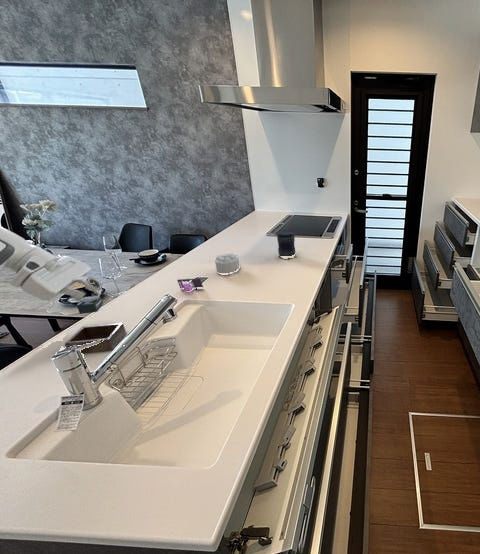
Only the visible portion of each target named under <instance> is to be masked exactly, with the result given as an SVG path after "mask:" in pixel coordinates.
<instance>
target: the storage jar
mask: <svg viewBox="0 0 480 554" xmlns="http://www.w3.org/2000/svg"><path fill="white" fill-rule="evenodd" d="M276 239H277V244H278V247H277V248H278V251H277V252H278V256H279V255H280V256H292V255H294V254H295V255H296V247H295V241H296V240H295V231H294V230H290V229H282V230H278V231H277V232H276Z"/></svg>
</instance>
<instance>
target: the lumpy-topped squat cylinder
mask: <svg viewBox="0 0 480 554" xmlns="http://www.w3.org/2000/svg"><path fill="white" fill-rule="evenodd" d="M214 263H215V269H216V274H217V275H218V276H219V277H222V276H224V278H226V277H231V276H230V275H232V274H233V275H232V276H235V275H237V274H239V272H240V270H241V266H240V258H239V255H238V254H234V253H223V254H221V255H220V254H219V255H217V256H216V257H215V259H214ZM239 266H240V268H239ZM238 268H239V270H238V271H237V272H234V271H236V270H237V269H238ZM217 272H219V273H230V272H234V273H232V274H228V275H221V274H218V273H217ZM225 276H226V277H225Z"/></svg>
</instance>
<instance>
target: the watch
mask: <svg viewBox="0 0 480 554" xmlns="http://www.w3.org/2000/svg"><path fill="white" fill-rule="evenodd" d="M78 280H79V281H81V282H82V283H84V285H85V286H86V287H87V288H88V289H89V290H91V292H94V293H95V294H96V295H91V296H83V297H82V298H78V297H76V296H73V295H69V297H71V298H72V299H74V300H75V301H77V302H78V301H79V302H78V303H77V304H76V308H77V310H78V313H79V314H80V315H82V314H83V315H85V314H90V313H98V311H99V310H100V309H101V307H102V306H103V305H104V302H103V299H102V296H101V294H102V291H103V286H102V283H101V282H100V281H99V280H98V279H96V278H95V277H91V276H85V277H77V278H75V279H74V280H73V281H72V282H74V281H78ZM82 283H81V284H82ZM84 285H83V286H84ZM69 286H71V287H72V285H71V284H70V285H69ZM85 286H84V287H85ZM72 289H74V288H73V287H72ZM88 289H87V290H88ZM89 290H88V291H89Z"/></svg>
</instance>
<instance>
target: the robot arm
mask: <svg viewBox="0 0 480 554" xmlns="http://www.w3.org/2000/svg"><path fill="white" fill-rule="evenodd" d="M5 268H7V269H8V270H10V271H12V272H14V273H15V275H14V276H13V277H12V279H11V280H10V281H9V284H10V285H11V286H13V287H15V288H21V290H22V291H24V292H25V293H26V294H29V295H31V296H33V297H35V298H37V299H39V300H42V301H51V300H53V299H54V298H56V297H57V296H58V295H60V294H61V293H62V294H64V295H67V296H70V295H73V296H76V297H78V298H82V297H83V298H84V297H85V296H86V295H87V292H86V291H84V290H82V289H80V290H78V289H74V288H73V287H72V286H73V285H74V284H76V283H78V284H82V285H83V286H84V289H86V290H88V291H91V290H89V289H88V288H87V287H86V286H85V285H84V283H82V282H81V281H79V280H78V281H74V282H72V281H73V280H74V279H75V278H77V277H87V275H88V274H89V273H90V272H91V271H92V267H91V265H89V264H88V263H85V262H84V261H82V260H79V259H77V258H74V257H72V256H68V255H61V254H57V255H54V254H52V253H51V252H49V251H47V250H45V249H44V248H42V247H40V246H37V245H34V244H32V243H30V242H28V241H27V240H26V239H25V238H24V237H22V236H20V235H19V234H17V233H15V232H13V231H11V230H9V229H7V228H6V227H5V228H4V227H3V226H0V273H1V271H2V270H3V269H5ZM70 284H71V286H69V285H70ZM72 288H73V289H72ZM91 292H92V291H91Z"/></svg>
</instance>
